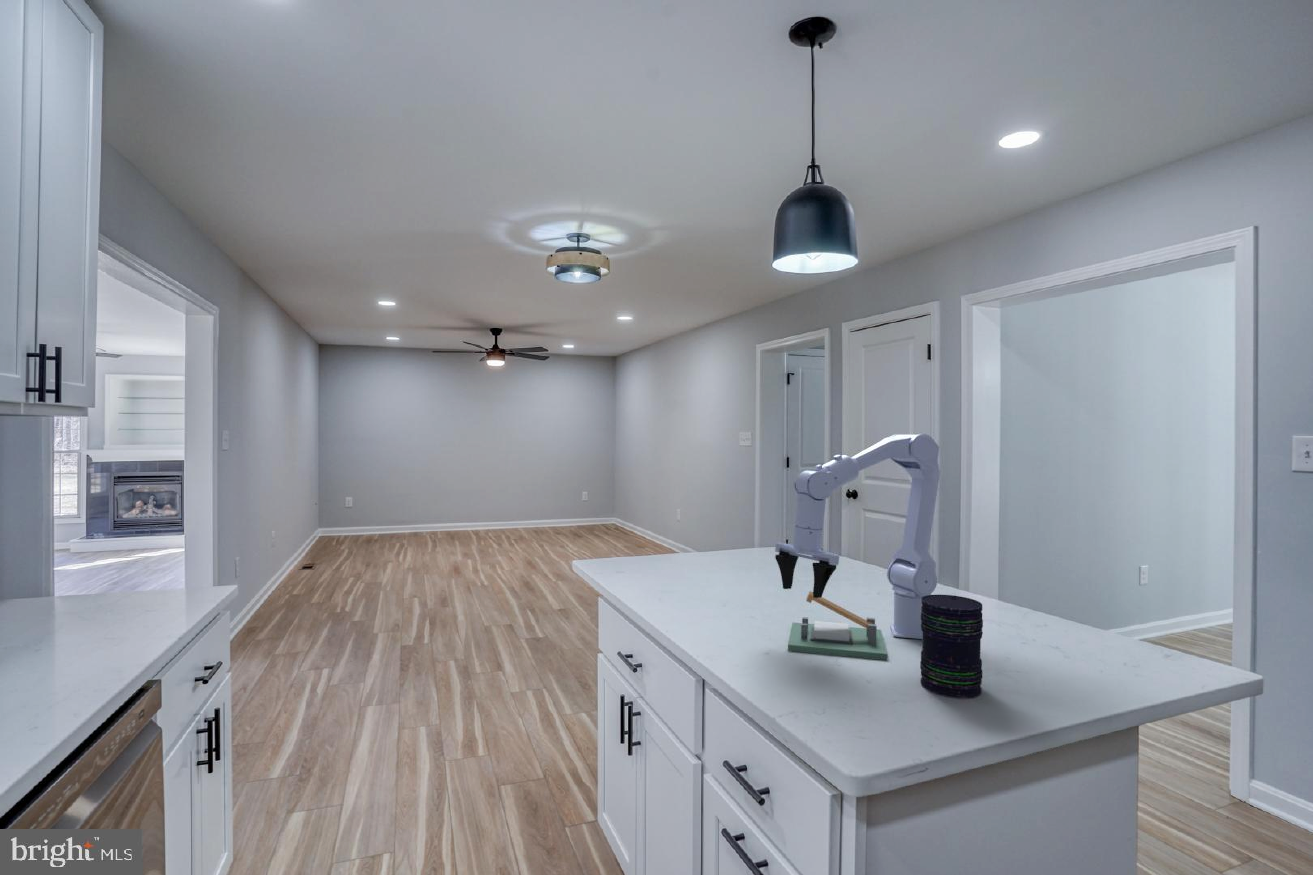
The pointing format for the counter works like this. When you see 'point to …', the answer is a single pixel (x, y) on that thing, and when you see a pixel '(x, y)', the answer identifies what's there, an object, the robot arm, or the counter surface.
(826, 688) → the counter surface
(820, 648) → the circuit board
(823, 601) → the hold-down strap
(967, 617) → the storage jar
